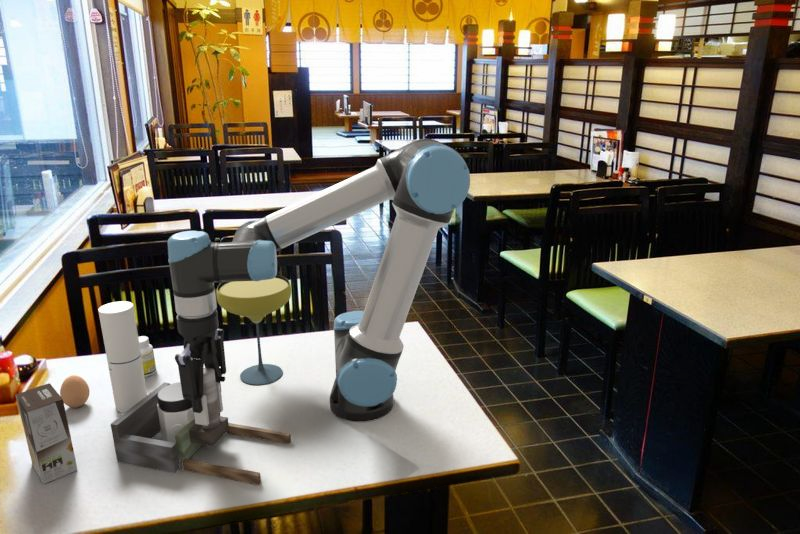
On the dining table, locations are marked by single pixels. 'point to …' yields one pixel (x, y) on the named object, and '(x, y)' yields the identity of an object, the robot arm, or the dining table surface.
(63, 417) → the coffee box
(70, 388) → the egg
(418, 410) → the dining table surface
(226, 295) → the cocktail glass
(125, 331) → the cylindrical container
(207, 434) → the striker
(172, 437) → the jar
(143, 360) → the supplement bottle
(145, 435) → the lane
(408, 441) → the dining table surface
